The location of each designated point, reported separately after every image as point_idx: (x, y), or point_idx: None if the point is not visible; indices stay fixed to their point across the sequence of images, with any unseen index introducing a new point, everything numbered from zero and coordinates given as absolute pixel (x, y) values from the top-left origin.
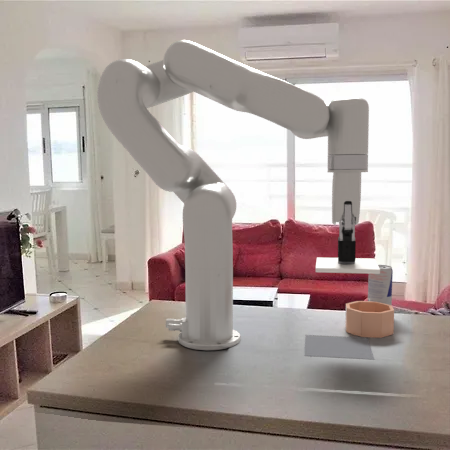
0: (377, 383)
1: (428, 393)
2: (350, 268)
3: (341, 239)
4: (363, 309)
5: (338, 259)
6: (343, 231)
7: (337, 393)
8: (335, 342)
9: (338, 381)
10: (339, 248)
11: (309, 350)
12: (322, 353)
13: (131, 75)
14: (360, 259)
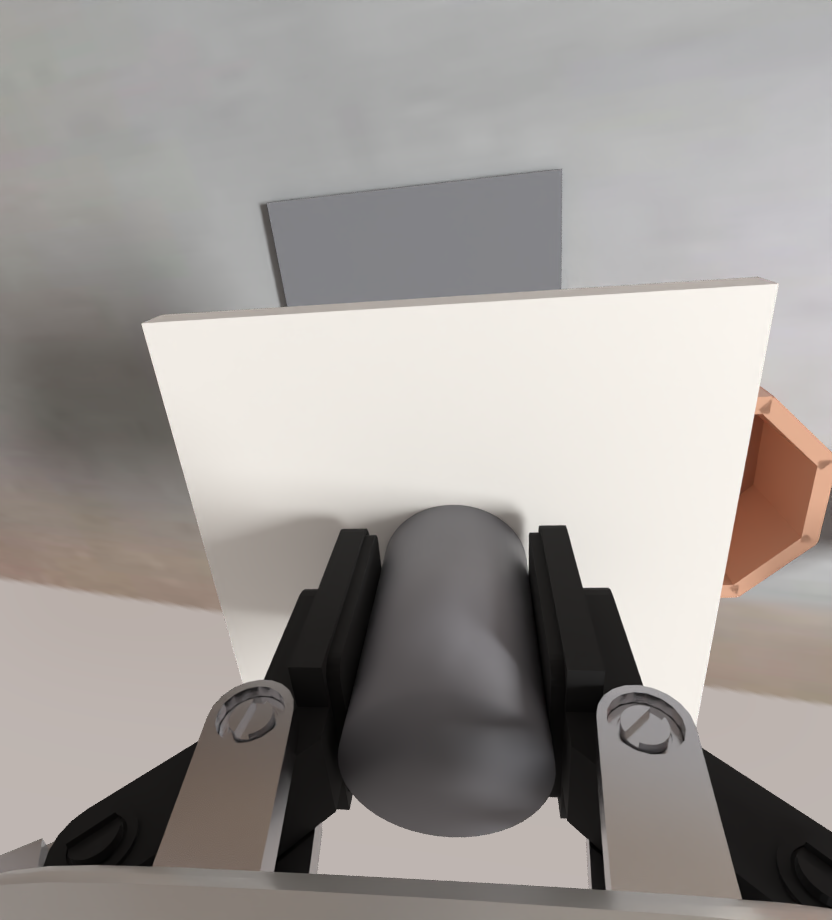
0: (141, 458)
1: (136, 568)
2: (229, 587)
3: (224, 716)
4: (793, 465)
5: (338, 535)
6: (52, 847)
7: (11, 348)
8: None
9: (100, 347)
10: (316, 611)
11: (336, 217)
12: (316, 278)
13: None
14: (645, 664)
